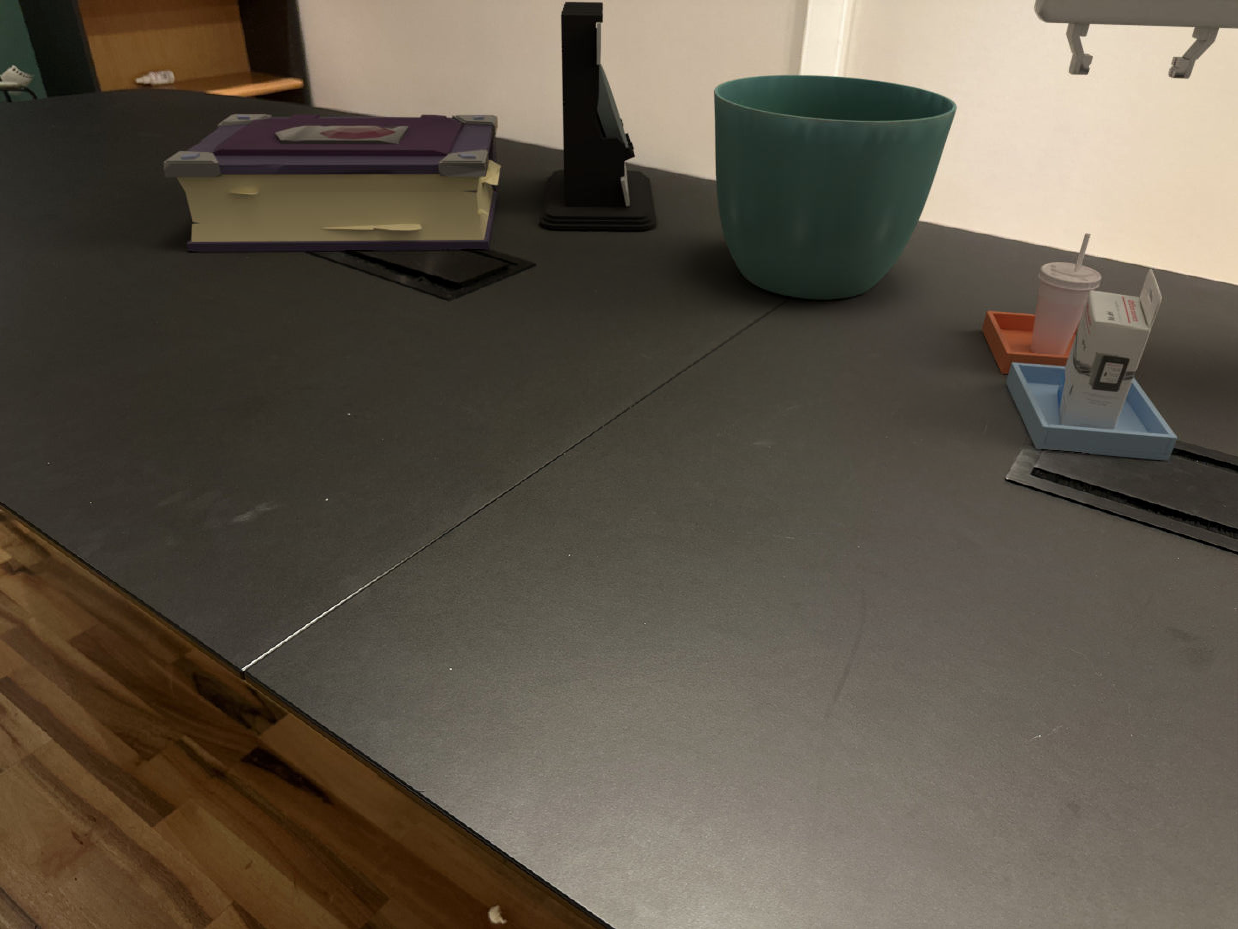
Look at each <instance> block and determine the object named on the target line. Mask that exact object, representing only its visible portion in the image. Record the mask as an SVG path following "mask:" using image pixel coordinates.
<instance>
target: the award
mask: <svg viewBox="0 0 1238 929" xmlns="http://www.w3.org/2000/svg"><path fill="white" fill-rule="evenodd" d="M603 11H604V3H603V2H601V1H600V2H599V1H565V2H564V4H563V7H562V10H561V14H560V34H561V35H560V36H561V40H560V43H561V89H562V90H561V91H562V92H561V94H562V97H561V98H562V134H563V135H562V144H563V148H562V149H563V151H562V152H563V169H558V170H555V171H553V172H552V174H551V175H550V176H548V177H547V180H546V186H545V189H544V191H545V192H544V196H543V200H542V206H541V212H540V215H539V216H540V217H539V225H540V226H541V227H542V228H545V229H549V230H572V231H573V230H575V231H576V230H577V231H578V230H579V231H581V230H583V231H584V230H586V231H587V230H588V231H589V230H590V231H595V230H596V231H645V230H646V231H647V230H652V229H654V228H655V227H656V226H657V225H658V224H657V223H658V221H657V215H656V209H655V203H654V202H655V201H654V197H653V190H652V182H651V179H650V177H648V176H646V174H644V173H643V172H642V171H639V170H627V169H628V168H627V165H626V161H629V160H630V159H633V158H635V157H636V154H635V151H634V150H635V147H634V144H633V141H632V140H631V138H630V135H629V132H626V131H625V129H624V122H623V119H622V118H621V116H620V112H619V109H618V106H617V103H616V100H615V97H614V94H613V91H612V88H611V85H610V82H609V80H608V77H607V74H606V71H605V69H604V67H603V65H602V62H601V61H602V57H601V56H602V23H603V22H604V12H603Z"/></svg>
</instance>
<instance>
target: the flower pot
mask: <svg viewBox="0 0 1238 929" xmlns="http://www.w3.org/2000/svg"><path fill="white" fill-rule="evenodd" d="M713 97H714V98H713V104H714V105H713V106H714V107H713V108H714V159H715V184H716V198H717V205H718V206H717V207H718V214H719V219H720V220H719V221H720V224H721V229H722V232H723V233H722V234H723V237H724V240H725V242H726V246H727V248H728V250H729V253H730V255H731V257H732V259H733V261H734V263H735V265H736V268H738V270H739V272H740V273H741V275H742V276H743V277H744V278H745V279H746V280H747V281H748V282H749V283H751V284H752V285H754V286H756V287H758V288H760V289H763V290H766V291H768V292H771V293H774V294H777V295H778V294H779V295H782V296H786V297H791V298H799V299H805V300H840V299H847V298H853V297H856V296H860V295H862V294H864V293H866V292H868V291H870V290H871V289H872V288H873V287H874V286H876V285H877V284H878V283H879V282H880V281H881V280H882V278H884V277H885V275H886V274H887V273H888V272H889V271H890V270H891V269H892V267H893V266H894V265H895V263H896V262H897V261H898V260H899V258H900V257H901V255H902V254H903V252H904V251H905V248H906V247H907V245H908V244H909V243H910V240H911V237H912V235H913V234H914V232H915V230H916V228H917V226H918V224H919V221H920V219H921V216H922V214H923V211H924V208H925V206H926V203H927V201H928V198H929V194H930V192H931V189H932V186H933V184H934V180H935V177H936V174H937V171H938V168H939V165H940V161H941V158H942V156H943V152H944V149H945V145H946V143H947V139H948V137H949V134H950V131H951V127H952V126H953V122H954V119H955V116H956V112H957V109H958V106H957V104H956V102H955V101H954V100H952V99H951V98H949V97H947V96H945V95H943V94H940V93H937V92H934V91H931V90H928V89H924V88H920V87H916V86H911V85H907V84H900V83H896V82H889V81H884V80H883V81H882V80H875V79H867V78H860V77H850V76H849V77H848V76H835V75H817V74H816V75H815V74H775V75H773V74H772V75H757V76H749V77H748V76H747V77H741V78H735V79H732V80H728V81H725V82H721V83H719V84H718V85H717V86H716V87H715V88H714V90H713Z"/></svg>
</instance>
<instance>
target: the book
mask: <svg viewBox="0 0 1238 929" xmlns="http://www.w3.org/2000/svg"><path fill="white" fill-rule="evenodd" d="M498 122H499V121H498V116H497V115H495V114H456V115H451V117H448V116H447V115H441V114H421V115H420V116H414V117H413V116H320V114H317V113H314V114H313V113H312V114H309V113H307V114H305V113H303V114H302V113H300V114H299V113H298V114H292V115H291V116H273V114H267V113H236V114H235V113H234V114H231V115H229V116H228V117H227V118H225V119H223V120H222V121H221V122H220V123H218V124H217V128H216V129H215V130H214V131H212V132H211V133H210V134H208V135H207V136H205V137H203V138H202V139H201V140H200V141H199V143H197V144H195V145H193V146H191V147H190V148H188V149H187V150H179V151H177V152H176V153H174V154H173V155H172V156H170V157H169V158H167V159H166V160H164V161H163V164H162V165H163V173H164V176H165V178H176V180H177V181H178V182H179V185H181V187H182V189H183V190H184V193H185V197H186V200H187V205H188V209H189V213H190V217H191V220H192V224H191V238H190V240H188V242H186V248H187V252H188V251H193V252H192V253H255V252H259V253H260V252H261V253H262V252H263V253H265V252H266V253H267V252H271V253H272V252H277V253H278V252H346V251H345V250H374V251H373V252H382V251H383V252H385V251H386V252H387V251H389V252H391V251H392V252H394V251H395V252H396V251H397V250H398V251H401V252H402V251H403V252H407V251H410V252H411V251H462V250H461V249H467V248H478V249H485V250H484V251H489V250H490V244H491V239H492V233H493V226H494V220H495V215H496V209H497V202H498V197H499V191H500V190H499V179H500V173H501V168H502V165H500V164H498V156H497V154H498V153H497V138H496V136H497V132H498V128H499V126H498ZM443 249H444V250H443ZM447 249H449V250H447ZM377 250H378V251H377ZM194 251H195V252H194ZM196 251H197V252H196ZM398 251H397V252H398Z"/></svg>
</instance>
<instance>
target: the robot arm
mask: <svg viewBox="0 0 1238 929" xmlns="http://www.w3.org/2000/svg"><path fill="white" fill-rule="evenodd" d="M1033 10H1034V13H1035V15H1036V17H1037V18H1038V20H1040V21H1041V22H1044V23H1048V24H1067V28H1066V31H1065V37H1066V39H1067V42H1068V45H1069V49H1070V53H1071V54H1072V56H1071V58H1070V59H1071V60H1070V63H1069V66H1068V74H1070V75H1072V76H1073V75H1075V76H1087V75H1088V74H1089V73H1090V69H1091V68H1090V65H1092V62H1093V59H1094V56H1093V55H1091V54H1089V53H1085V51H1084V47H1083V43H1082V39H1081V37H1085V38H1086V37H1087V36H1088V33H1089V29H1090V25H1104V26H1105V25H1108V26H1109V25H1110V26H1137V27H1138V26H1140V27H1141V26H1142V27H1145V26H1146V27H1169V28H1171V27H1173V28H1193V31H1192V34H1191V38H1192V39H1195V40H1194V42H1193V43H1192V44H1191V46H1189V47H1188V48H1187V50H1185V52H1184V53H1183V55H1182V56H1173V57H1172V59H1171V63H1170V67H1169V69H1168V74H1167V76H1168V77H1169V78H1171V79H1179V80H1180V79H1184V80H1188V79H1190V77H1191V76H1192V72H1193V70H1194V67H1195V65H1196V64H1195V63H1196V61H1197V60H1199V58H1201V57H1202V55H1204V53H1205V52H1206V51H1207V50H1208V49H1209V48H1210V47H1212V45H1213V44H1214V43H1215V42H1216V39H1217V37H1218V33H1219V30H1220V29H1238V0H1035V2H1034V6H1033Z"/></svg>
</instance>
